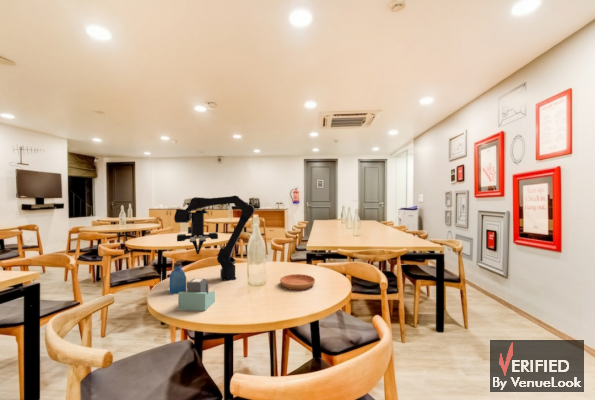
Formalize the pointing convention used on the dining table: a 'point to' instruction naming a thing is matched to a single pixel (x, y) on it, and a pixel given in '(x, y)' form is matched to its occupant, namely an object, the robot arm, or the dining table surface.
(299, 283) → the saucer
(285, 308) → the dining table surface
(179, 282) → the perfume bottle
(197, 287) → the grey block
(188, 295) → the socket
